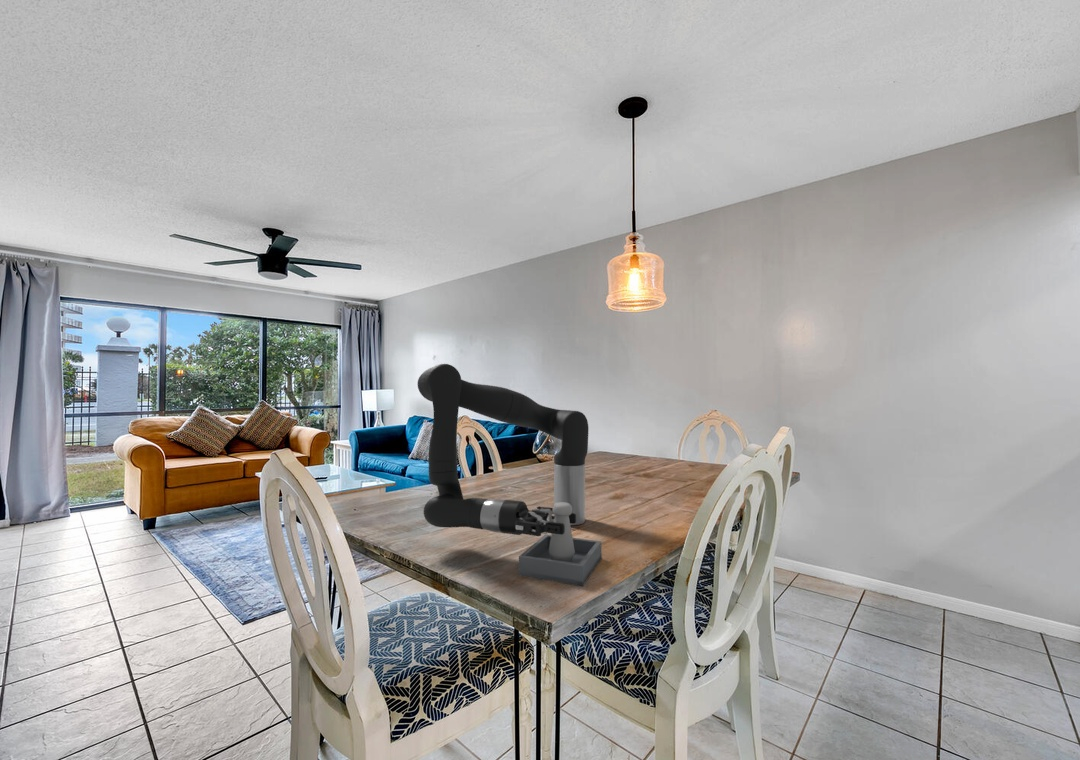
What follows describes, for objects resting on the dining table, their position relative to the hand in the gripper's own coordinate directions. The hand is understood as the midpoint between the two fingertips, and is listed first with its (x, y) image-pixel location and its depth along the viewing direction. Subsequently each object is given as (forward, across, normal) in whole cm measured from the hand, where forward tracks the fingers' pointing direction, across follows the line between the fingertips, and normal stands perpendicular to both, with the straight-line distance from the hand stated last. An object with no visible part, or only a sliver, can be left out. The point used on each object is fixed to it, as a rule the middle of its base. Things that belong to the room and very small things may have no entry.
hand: (570, 523), depth 99 cm
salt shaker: (-2, 0, +9) cm, 9 cm away
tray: (-2, 0, +10) cm, 10 cm away
